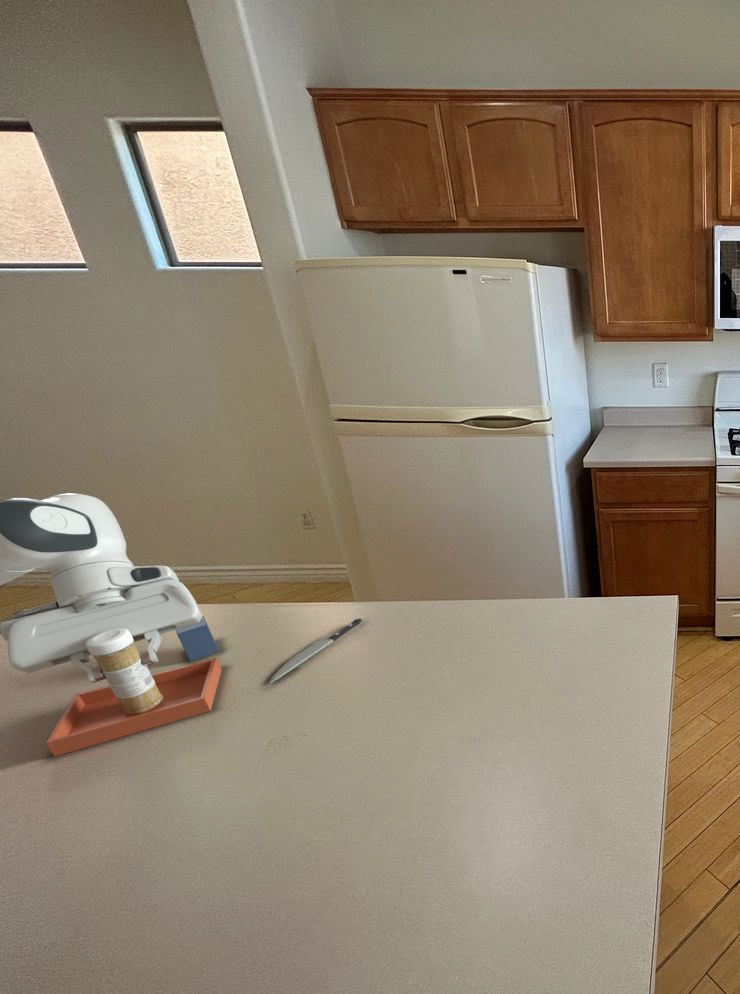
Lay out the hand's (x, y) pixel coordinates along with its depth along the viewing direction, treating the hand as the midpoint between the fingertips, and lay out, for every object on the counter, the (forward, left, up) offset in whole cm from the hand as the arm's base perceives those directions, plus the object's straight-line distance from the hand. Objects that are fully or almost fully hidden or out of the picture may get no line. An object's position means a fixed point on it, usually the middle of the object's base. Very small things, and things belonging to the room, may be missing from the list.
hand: (125, 671), depth 84 cm
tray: (0, +1, -8) cm, 8 cm away
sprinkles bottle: (0, +1, -7) cm, 7 cm away
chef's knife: (+22, +4, -8) cm, 24 cm away
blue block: (+5, +14, -8) cm, 17 cm away
